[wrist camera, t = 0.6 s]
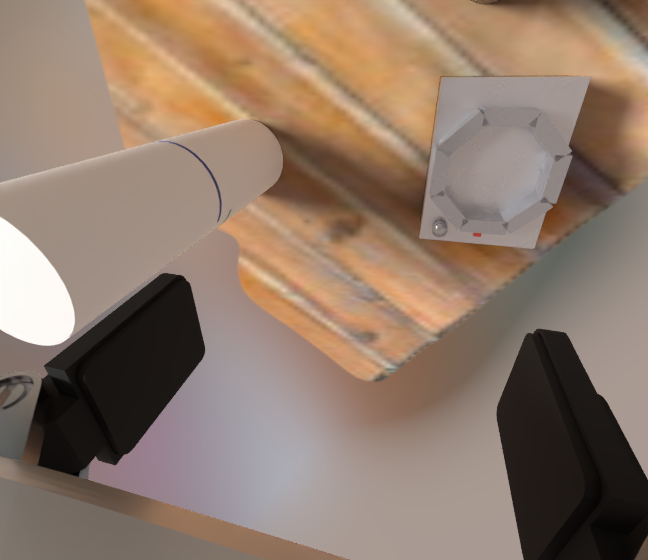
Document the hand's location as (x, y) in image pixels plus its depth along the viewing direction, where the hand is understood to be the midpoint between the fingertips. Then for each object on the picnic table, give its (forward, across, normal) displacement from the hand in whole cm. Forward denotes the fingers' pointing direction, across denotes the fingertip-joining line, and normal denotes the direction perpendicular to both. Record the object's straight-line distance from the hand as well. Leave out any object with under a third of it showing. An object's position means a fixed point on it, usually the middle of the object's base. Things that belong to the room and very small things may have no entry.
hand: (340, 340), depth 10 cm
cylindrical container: (+27, +15, +1) cm, 31 cm away
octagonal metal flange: (+26, -7, 0) cm, 27 cm away
